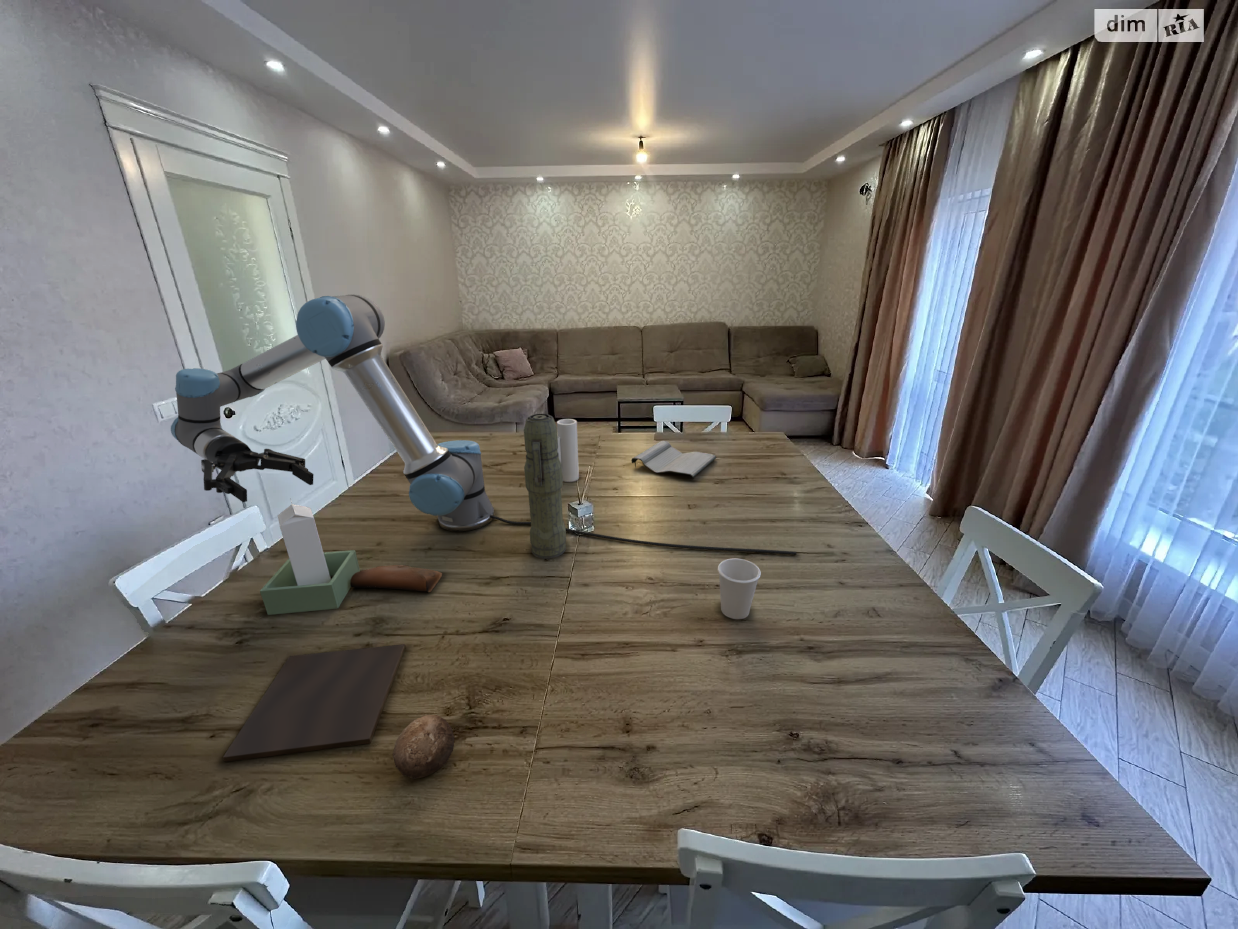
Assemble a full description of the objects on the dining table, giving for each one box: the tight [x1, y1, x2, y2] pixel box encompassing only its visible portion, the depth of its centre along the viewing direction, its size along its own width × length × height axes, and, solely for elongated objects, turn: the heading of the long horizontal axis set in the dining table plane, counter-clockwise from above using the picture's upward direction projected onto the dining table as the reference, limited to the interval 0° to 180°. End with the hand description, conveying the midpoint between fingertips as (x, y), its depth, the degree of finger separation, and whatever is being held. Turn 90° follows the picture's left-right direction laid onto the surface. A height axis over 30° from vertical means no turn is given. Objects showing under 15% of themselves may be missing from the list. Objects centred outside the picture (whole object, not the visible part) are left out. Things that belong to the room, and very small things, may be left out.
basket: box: [259, 549, 361, 616], centre depth 106 cm, size 14×14×6 cm
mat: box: [631, 440, 718, 479], centre depth 175 cm, size 23×24×5 cm
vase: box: [556, 418, 580, 483], centre depth 161 cm, size 11×7×20 cm, turn 93°
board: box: [222, 643, 406, 763], centre depth 80 cm, size 20×20×1 cm
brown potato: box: [392, 714, 455, 780], centre depth 69 cm, size 8×8×6 cm
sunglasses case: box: [350, 564, 443, 593], centre depth 109 cm, size 18×7×7 cm
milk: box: [277, 498, 332, 586], centre depth 103 cm, size 6×6×22 cm
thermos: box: [523, 413, 567, 560], centre depth 116 cm, size 9×12×35 cm
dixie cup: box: [717, 557, 762, 620], centre depth 98 cm, size 8×8×10 cm
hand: (280, 487), depth 104 cm, fingers open, 13 cm apart
